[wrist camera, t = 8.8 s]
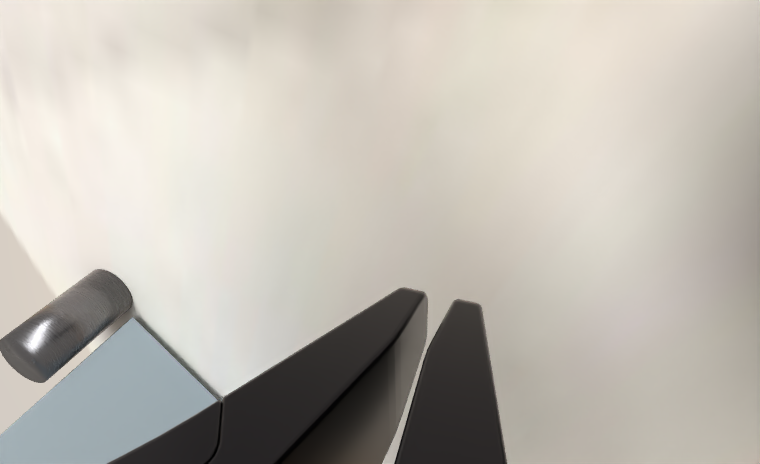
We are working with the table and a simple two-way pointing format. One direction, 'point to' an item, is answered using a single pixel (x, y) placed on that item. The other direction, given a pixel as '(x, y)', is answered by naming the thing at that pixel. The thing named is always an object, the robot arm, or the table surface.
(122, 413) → the panel
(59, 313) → the posts
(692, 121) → the table surface
